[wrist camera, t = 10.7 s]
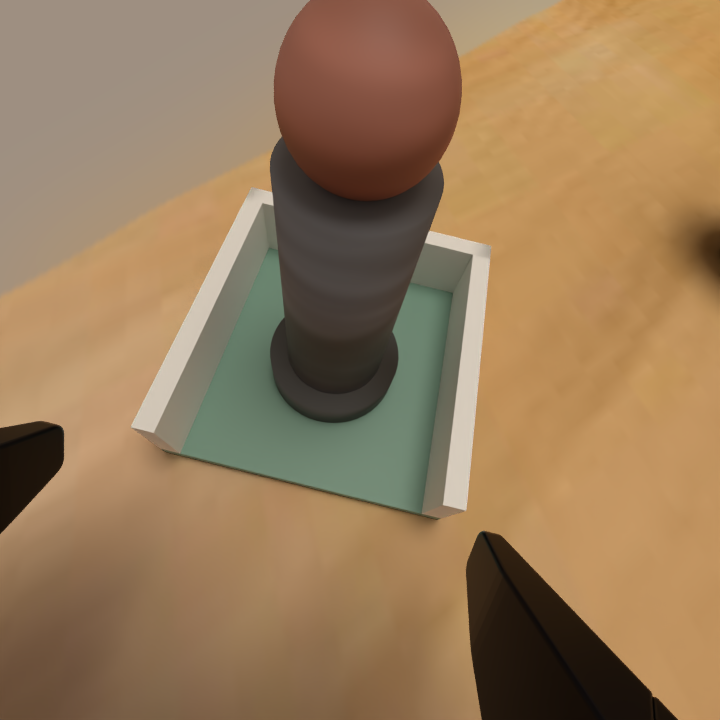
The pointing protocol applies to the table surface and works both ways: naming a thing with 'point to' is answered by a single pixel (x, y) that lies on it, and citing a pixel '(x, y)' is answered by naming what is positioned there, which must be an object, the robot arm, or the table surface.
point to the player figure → (355, 190)
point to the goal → (310, 437)
